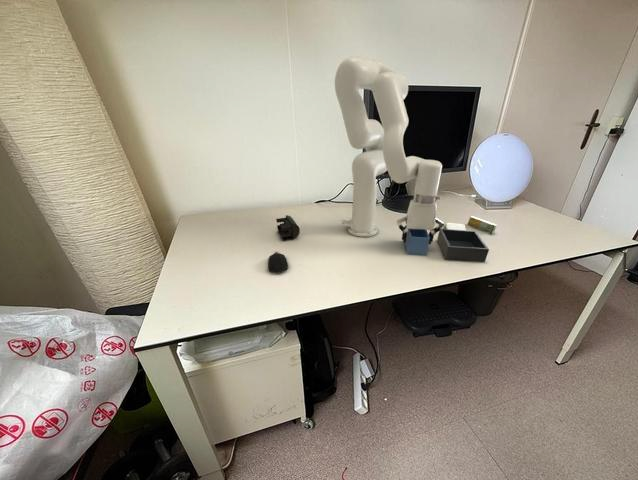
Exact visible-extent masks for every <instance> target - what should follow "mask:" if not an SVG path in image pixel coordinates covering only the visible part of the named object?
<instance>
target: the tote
mask: <svg viewBox="0 0 638 480" xmlns="http://www.w3.org/2000/svg"><path fill="white" fill-rule="evenodd" d="M436 242H437V244H438V246H439V248H440V251H441V253H442V256H443V258H444V260H446V261H462V262H473V263H475V262H476V263H485V262H486V260H487V256H488V254H489V251H490V248H489V247H488V246H487V245H486V243H485V242H484V240H483V239H482V238H481V236H480V234H479V233H478V231H476V230H468V229H466V230H452V229H446V228H441V229H440V231H438V234H437V239H436Z"/></svg>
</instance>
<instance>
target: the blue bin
mask: <svg viewBox="0 0 638 480" xmlns="http://www.w3.org/2000/svg"><path fill="white" fill-rule="evenodd" d="M429 240H430V237H429V232H428V230H419V229H409V230H408V231H407V238H406V243H404V244H405V248H406V254H407V255H415V256H416V255H417V256H427V253H428V248H429Z"/></svg>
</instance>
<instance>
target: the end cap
mask: <svg viewBox="0 0 638 480" xmlns="http://www.w3.org/2000/svg"><path fill="white" fill-rule="evenodd" d="M275 220H276V223H278V224H277V225H276V228H277V233H278V235H279V237H280V238H281V241H282V242H286V241H293V240H295V239H296V238H297V237H298V236H299V235H300V233H301V228H300V226H299V225H298V224H297V222H296V221H295V220H294V218H293V217H292V216H291V215H288V214H287V215H285V217H279V218H276V219H275Z"/></svg>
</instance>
